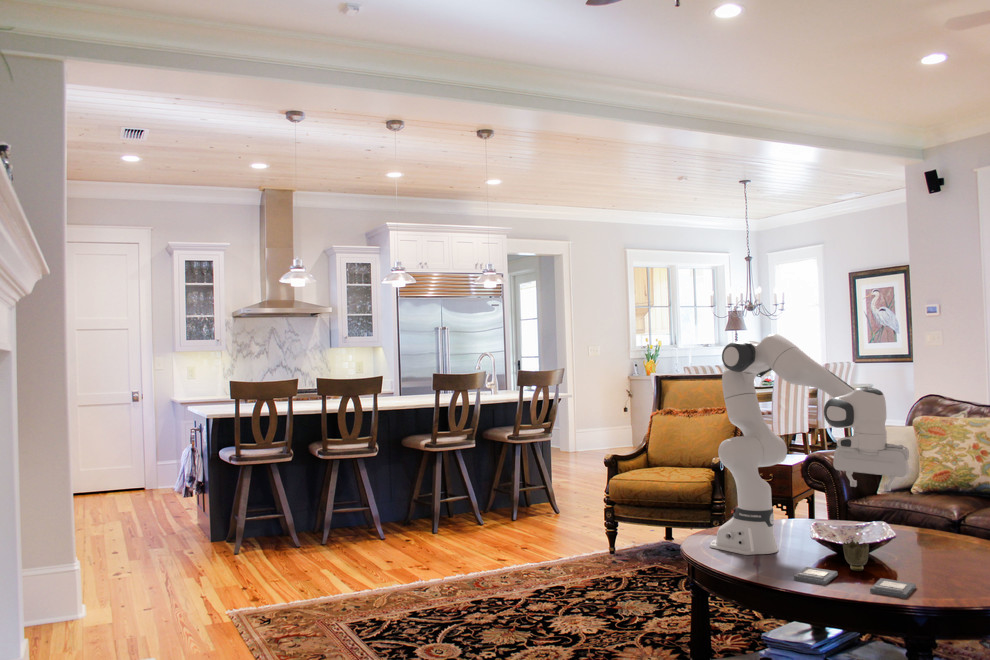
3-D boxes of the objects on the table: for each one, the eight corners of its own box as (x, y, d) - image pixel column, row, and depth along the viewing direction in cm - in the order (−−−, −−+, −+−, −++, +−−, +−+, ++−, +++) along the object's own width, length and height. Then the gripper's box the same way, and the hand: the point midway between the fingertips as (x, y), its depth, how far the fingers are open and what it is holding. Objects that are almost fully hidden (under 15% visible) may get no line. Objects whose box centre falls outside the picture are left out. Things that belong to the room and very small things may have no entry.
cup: (839, 569, 234) (837, 543, 234) (850, 565, 238) (849, 539, 239) (863, 574, 228) (862, 547, 228) (874, 570, 233) (873, 543, 233)
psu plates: (793, 579, 225) (793, 573, 225) (806, 570, 234) (806, 564, 234) (906, 598, 205) (905, 592, 205) (915, 587, 215) (915, 581, 215)
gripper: (911, 444, 221) (911, 491, 221) (837, 437, 234) (838, 482, 234) (906, 446, 216) (906, 495, 216) (831, 440, 230) (831, 485, 230)
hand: (870, 488), depth 225 cm, fingers open, 8 cm apart
